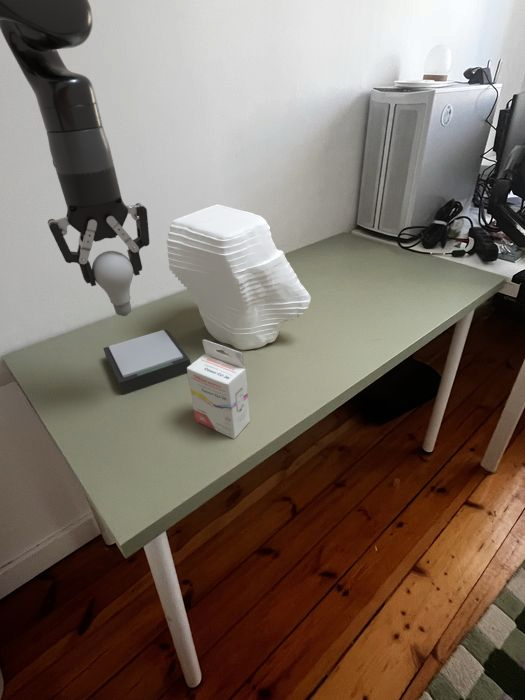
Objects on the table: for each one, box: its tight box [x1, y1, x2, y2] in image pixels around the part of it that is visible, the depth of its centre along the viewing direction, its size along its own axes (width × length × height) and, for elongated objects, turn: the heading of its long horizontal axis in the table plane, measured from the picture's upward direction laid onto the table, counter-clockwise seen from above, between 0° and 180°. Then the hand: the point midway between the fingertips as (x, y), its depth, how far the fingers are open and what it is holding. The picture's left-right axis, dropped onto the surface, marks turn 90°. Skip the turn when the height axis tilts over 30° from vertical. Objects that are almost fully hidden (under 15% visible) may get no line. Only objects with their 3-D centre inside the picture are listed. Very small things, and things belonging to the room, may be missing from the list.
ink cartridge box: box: [187, 339, 251, 440], centre depth 70 cm, size 9×5×15 cm, turn 58°
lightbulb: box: [91, 250, 134, 317], centre depth 69 cm, size 6×6×11 cm
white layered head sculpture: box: [166, 203, 312, 351], centre depth 91 cm, size 21×27×26 cm
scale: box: [102, 328, 192, 396], centre depth 89 cm, size 14×14×4 cm
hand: (115, 278), depth 68 cm, fingers closed on lightbulb, 6 cm apart
